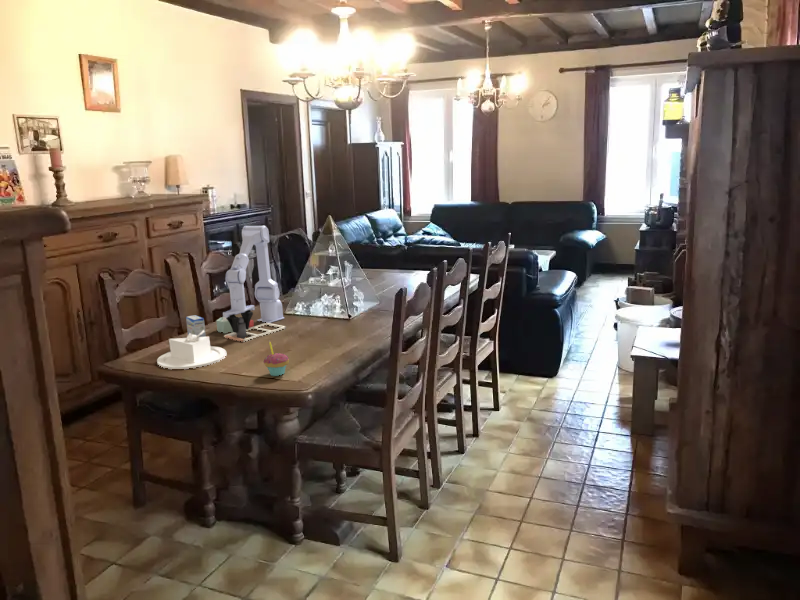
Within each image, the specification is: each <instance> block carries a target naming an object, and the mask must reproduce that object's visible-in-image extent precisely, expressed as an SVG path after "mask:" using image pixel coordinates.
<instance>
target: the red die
mask: <svg viewBox="0 0 800 600" xmlns="http://www.w3.org/2000/svg"><path fill="white" fill-rule="evenodd" d="M254 323H255V322H254V319H251V320H250V324H249V328H250V327H253V326H255V324H254Z"/></svg>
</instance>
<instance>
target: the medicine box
mask: <svg viewBox="0 0 800 600" xmlns="http://www.w3.org/2000/svg"><path fill="white" fill-rule="evenodd" d="M185 319H186V329H187V335H188V334H189V333H191V334H193V335H198V334H199V333H201V332H202V331H203V330H204V331H205V332H204V333H203V334H201V335H200V336H199V337H207V336H206V335H207V333H206V326H205V318H204V317H201V316H198V315H195V314H194V315H188V316H186V317H185Z"/></svg>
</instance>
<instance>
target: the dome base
mask: <svg viewBox="0 0 800 600" xmlns="http://www.w3.org/2000/svg"><path fill="white" fill-rule="evenodd" d="M221 320H223V316H222V317H221V316H220V317H219V318H218V319H216V320H215V323H216V329H217V330H216V331H218V332H217V333H221V332H223V333H222V334H229V333H228V332H231V333H233V330H232V327H231V325H230V323H229V321H221Z"/></svg>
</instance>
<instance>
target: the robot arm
mask: <svg viewBox="0 0 800 600" xmlns="http://www.w3.org/2000/svg"><path fill="white" fill-rule="evenodd" d="M269 233H270V231H269V228H268V227H267V225H244V226H243V227H242V229H241V238H242V242H241V246H240V250H239V253H238V254H236V255H235V256H234V259H233V261H232V264H231V267H230V269H228V270H227V271H226V273H225V282H226V284H227V287H228V289H229V295H230V296H229V298H230V299H229V300H230V309H229V310H227V311H223V312H222V317H225V318H226V319H227V320H228V321H229V323H230V325H231V327H232V330H233V332H234V333H238V326H237V323H238V317H239V316H237V315H239V314H240V315H241V317H242V318H243V319H244V322H245V324H246V329H247V330H248V329H249V324H250V320H252V316H253V315H254V311H255V310H256V309H255V305H254V304H250V305H249V304H248V305H247V304H246V297H245V296H246V295H245V286H244V283H245V281H246V279H247V267H248V265H249V262H250V259H249V255H250V253H251V252H252V248H253V246H255V252H256V261H257V262H256V263H257V270H258V272H257V273H258V278H259V280H258V281H257V282H256V283H255V284H254V298H255V299H256V300H257V301H258V303H259V308H260V318H259V319H256V320H257V322H260V321H262V322H261V323H265V322H266V323H271V324H272V323H274V322H277V321H281V320H284V319H285V317H284V313H283V303H282V301H281V300H280V289H279V283H278V282H277V281H275V280H273V279H272V277H271V275H272V274H271V268H270V257H269V248H268V247H269V246H268V244H269V243H270V234H269ZM233 332H232V333H233Z"/></svg>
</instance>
